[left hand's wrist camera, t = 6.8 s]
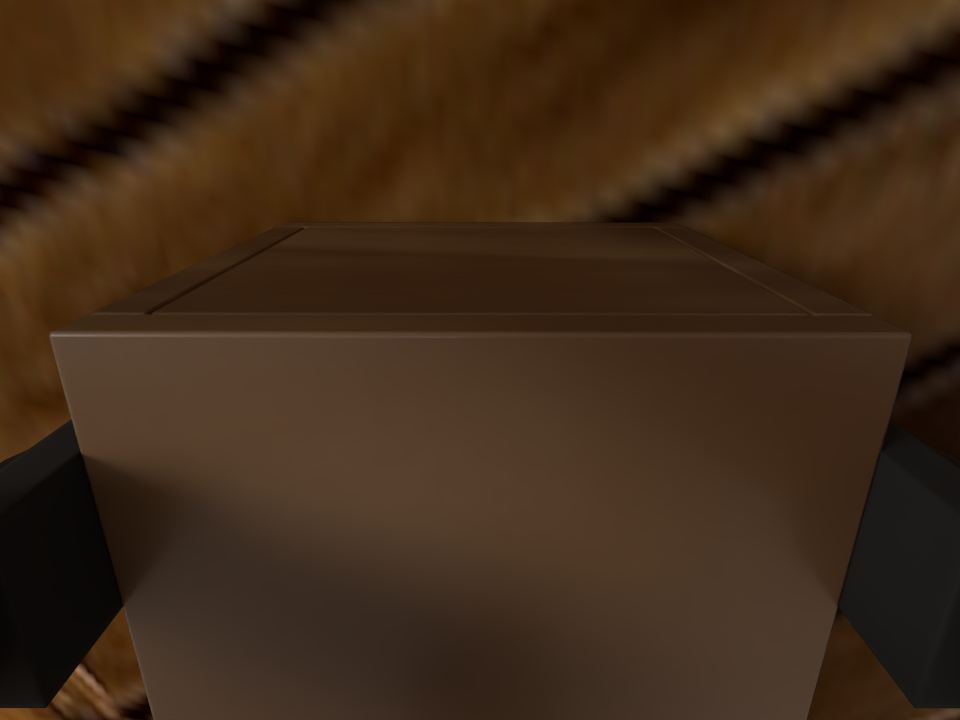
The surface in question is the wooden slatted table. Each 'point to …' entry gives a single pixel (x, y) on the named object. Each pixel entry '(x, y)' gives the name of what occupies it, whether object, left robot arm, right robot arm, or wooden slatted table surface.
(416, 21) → the wooden slatted table surface
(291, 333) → the tall brown box
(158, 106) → the wooden slatted table surface
